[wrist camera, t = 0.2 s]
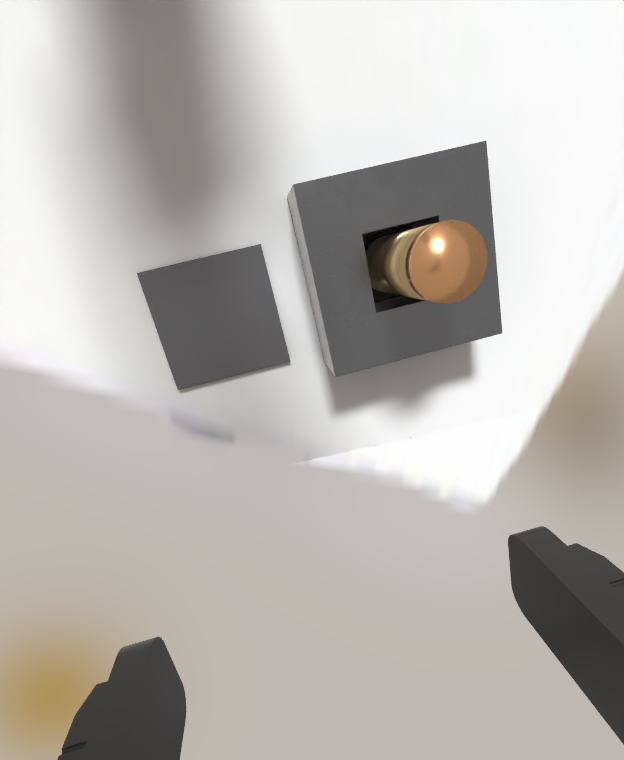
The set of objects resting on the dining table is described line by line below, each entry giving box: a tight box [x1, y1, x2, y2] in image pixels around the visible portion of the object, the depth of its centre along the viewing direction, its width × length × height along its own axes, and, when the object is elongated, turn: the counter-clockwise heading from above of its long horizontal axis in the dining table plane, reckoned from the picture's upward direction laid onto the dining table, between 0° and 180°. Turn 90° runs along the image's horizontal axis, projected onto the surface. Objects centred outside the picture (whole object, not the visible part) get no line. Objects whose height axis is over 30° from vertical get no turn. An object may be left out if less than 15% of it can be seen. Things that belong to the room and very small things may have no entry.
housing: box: [287, 141, 502, 377], centre depth 32 cm, size 14×14×5 cm
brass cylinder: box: [366, 220, 487, 303], centre depth 29 cm, size 5×5×11 cm
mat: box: [137, 244, 290, 390], centre depth 33 cm, size 10×10×1 cm
